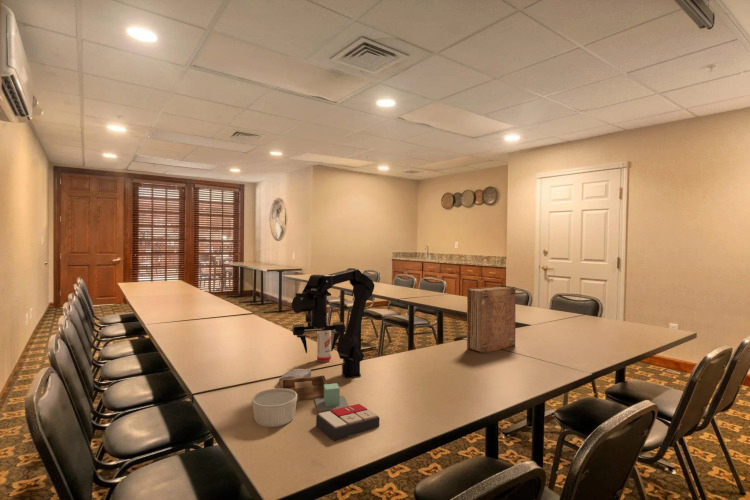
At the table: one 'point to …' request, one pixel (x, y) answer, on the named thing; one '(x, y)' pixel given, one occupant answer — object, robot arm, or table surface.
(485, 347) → the book
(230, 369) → the table surface
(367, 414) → the calculator
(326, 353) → the beer can
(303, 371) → the stone block
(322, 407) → the pad
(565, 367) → the table surface
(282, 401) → the ramekin
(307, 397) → the caddy
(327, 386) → the teal block
